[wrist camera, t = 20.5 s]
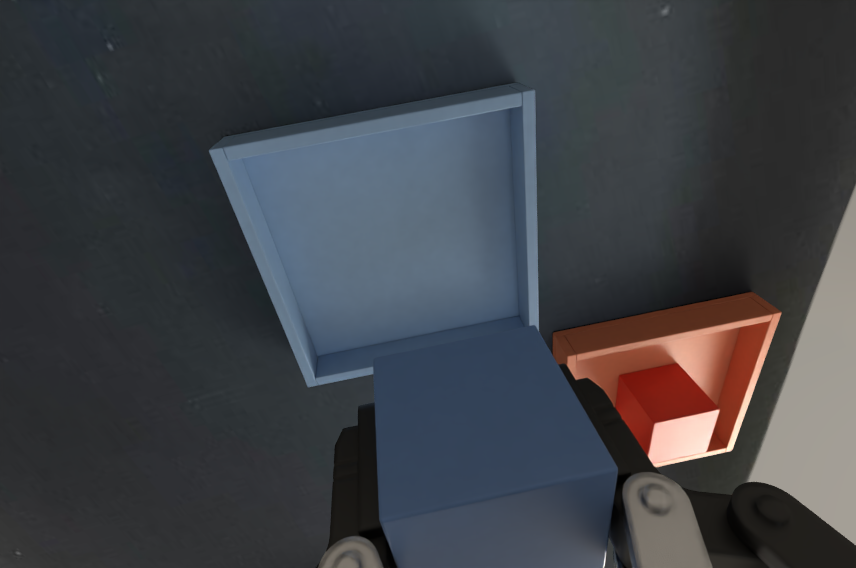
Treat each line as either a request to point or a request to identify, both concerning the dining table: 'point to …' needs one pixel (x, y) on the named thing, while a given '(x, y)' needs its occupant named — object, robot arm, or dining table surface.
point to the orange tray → (681, 353)
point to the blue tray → (392, 225)
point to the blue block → (489, 458)
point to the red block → (666, 412)
